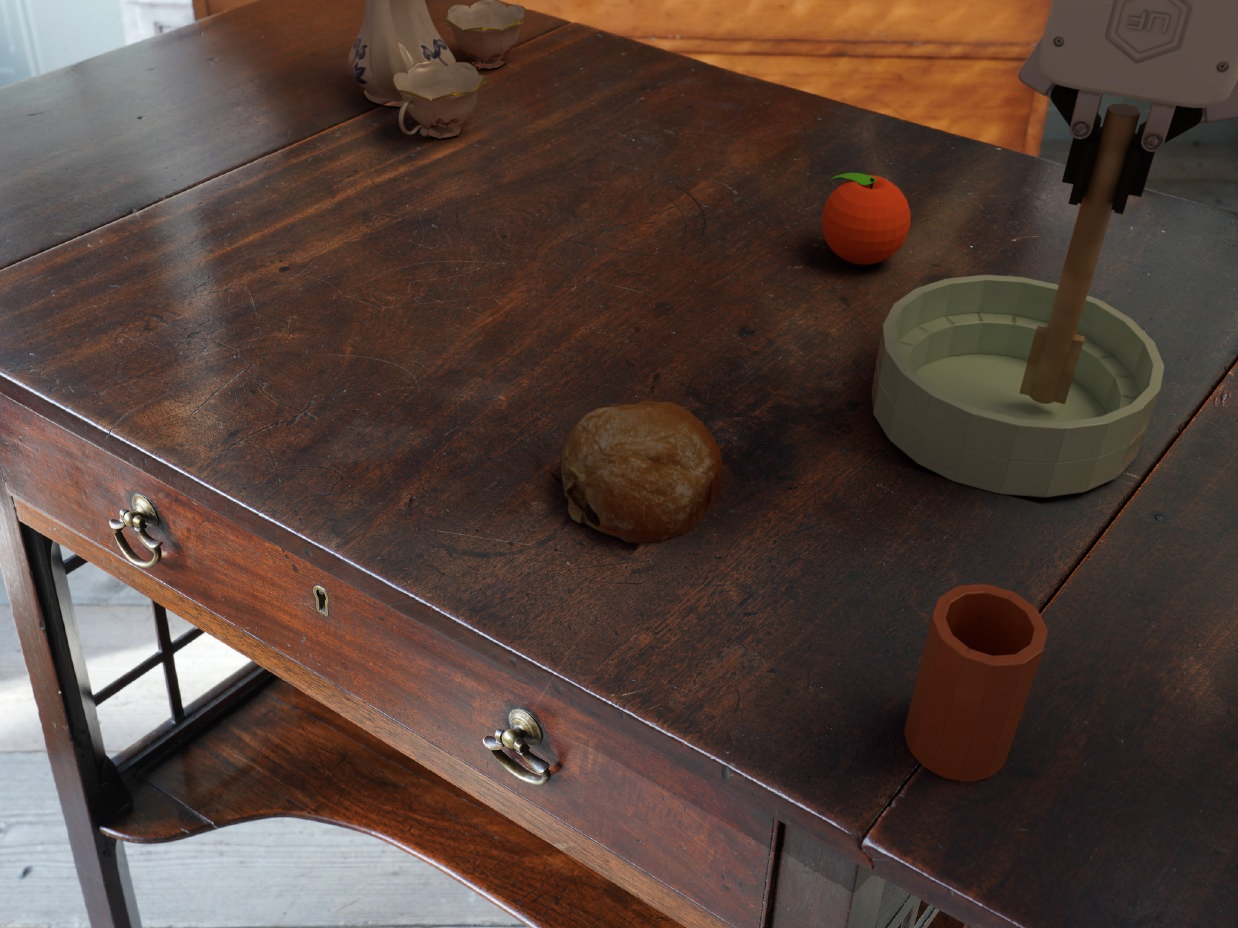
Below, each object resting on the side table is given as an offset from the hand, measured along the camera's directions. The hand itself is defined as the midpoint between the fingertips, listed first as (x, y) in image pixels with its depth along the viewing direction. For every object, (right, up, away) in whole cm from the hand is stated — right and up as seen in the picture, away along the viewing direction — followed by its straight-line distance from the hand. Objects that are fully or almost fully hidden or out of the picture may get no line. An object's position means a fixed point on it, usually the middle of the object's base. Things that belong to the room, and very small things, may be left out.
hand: (1099, 197), depth 72 cm
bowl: (-3, -13, +10) cm, 16 cm away
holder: (-12, -30, -11) cm, 34 cm away
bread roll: (-27, -18, +4) cm, 32 cm away
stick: (0, -11, +9) cm, 15 cm away
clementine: (-9, +1, +27) cm, 28 cm away
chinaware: (-47, +22, +52) cm, 73 cm away
